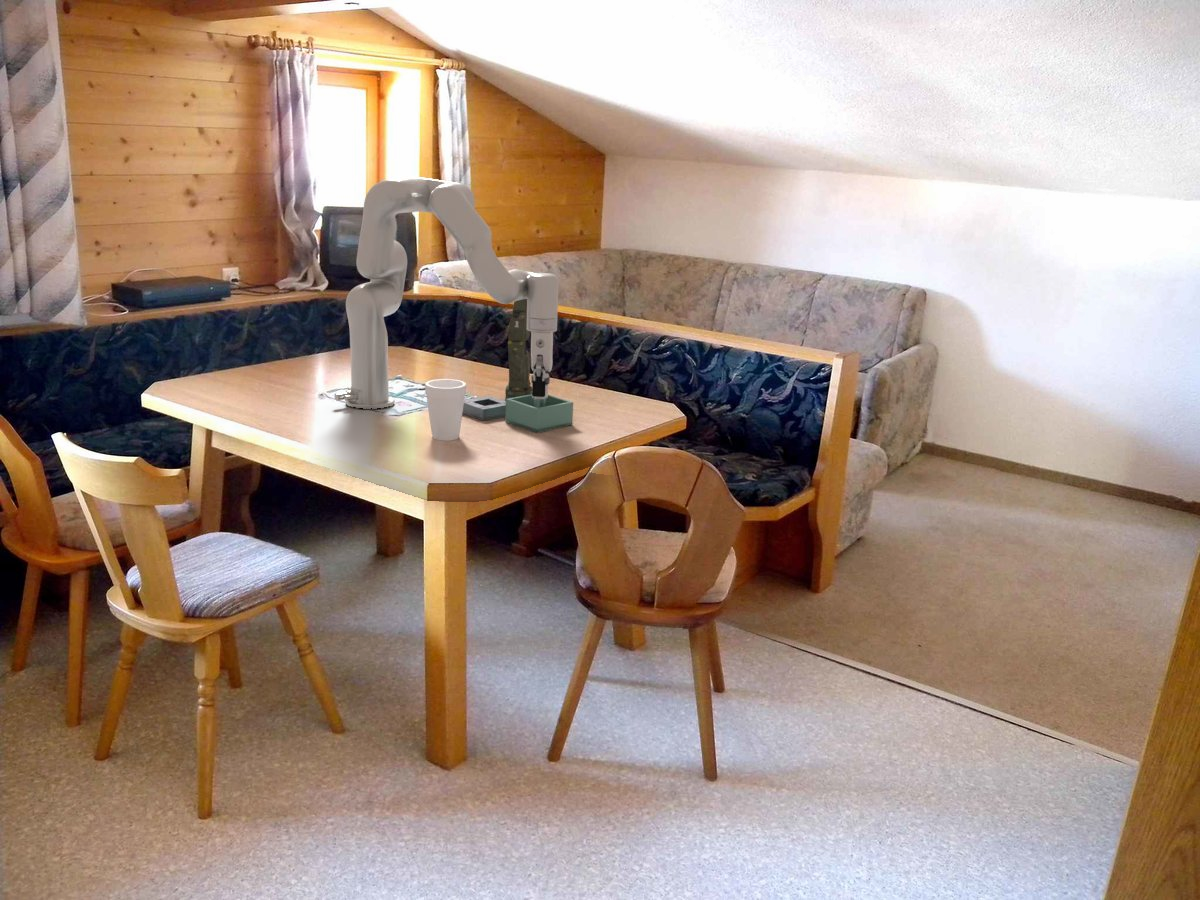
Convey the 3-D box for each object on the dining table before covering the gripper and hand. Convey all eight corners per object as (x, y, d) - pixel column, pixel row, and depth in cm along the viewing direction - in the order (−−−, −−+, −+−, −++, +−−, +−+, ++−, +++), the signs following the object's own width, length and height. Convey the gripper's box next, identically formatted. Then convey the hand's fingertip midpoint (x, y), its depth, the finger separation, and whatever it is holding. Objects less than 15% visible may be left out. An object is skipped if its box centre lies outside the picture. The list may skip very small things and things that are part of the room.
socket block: (483, 420, 254) (483, 409, 253) (459, 412, 261) (459, 401, 260) (513, 414, 261) (513, 403, 260) (489, 406, 268) (489, 395, 267)
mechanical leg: (522, 404, 268) (532, 291, 267) (496, 401, 270) (506, 289, 268) (535, 404, 282) (544, 297, 280) (510, 401, 283) (519, 295, 281)
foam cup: (471, 433, 243) (471, 381, 239) (457, 444, 234) (457, 390, 230) (434, 429, 245) (434, 377, 241) (419, 439, 236) (419, 386, 232)
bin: (536, 432, 246) (537, 409, 244) (505, 421, 254) (505, 398, 252) (572, 425, 254) (573, 402, 253) (541, 414, 262) (541, 392, 261)
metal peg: (528, 422, 252) (530, 375, 248) (530, 417, 256) (532, 371, 253) (547, 423, 252) (549, 376, 248) (548, 418, 256) (550, 372, 253)
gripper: (555, 331, 239) (553, 401, 244) (558, 318, 255) (556, 384, 260) (523, 329, 239) (522, 399, 244) (529, 317, 255) (527, 383, 260)
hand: (539, 391), depth 252 cm, fingers open, 9 cm apart
